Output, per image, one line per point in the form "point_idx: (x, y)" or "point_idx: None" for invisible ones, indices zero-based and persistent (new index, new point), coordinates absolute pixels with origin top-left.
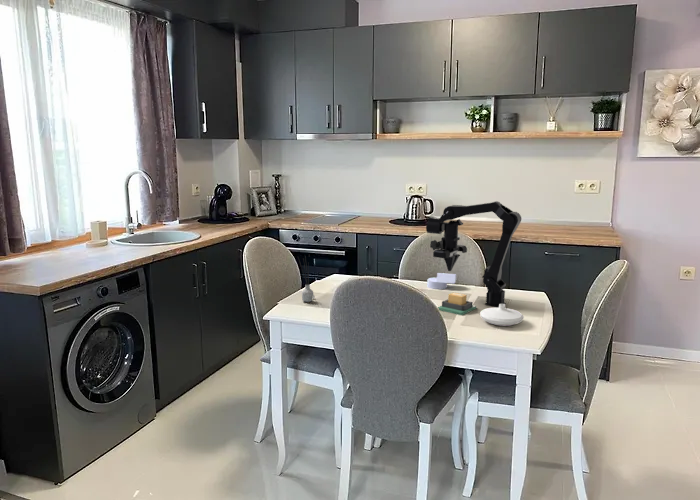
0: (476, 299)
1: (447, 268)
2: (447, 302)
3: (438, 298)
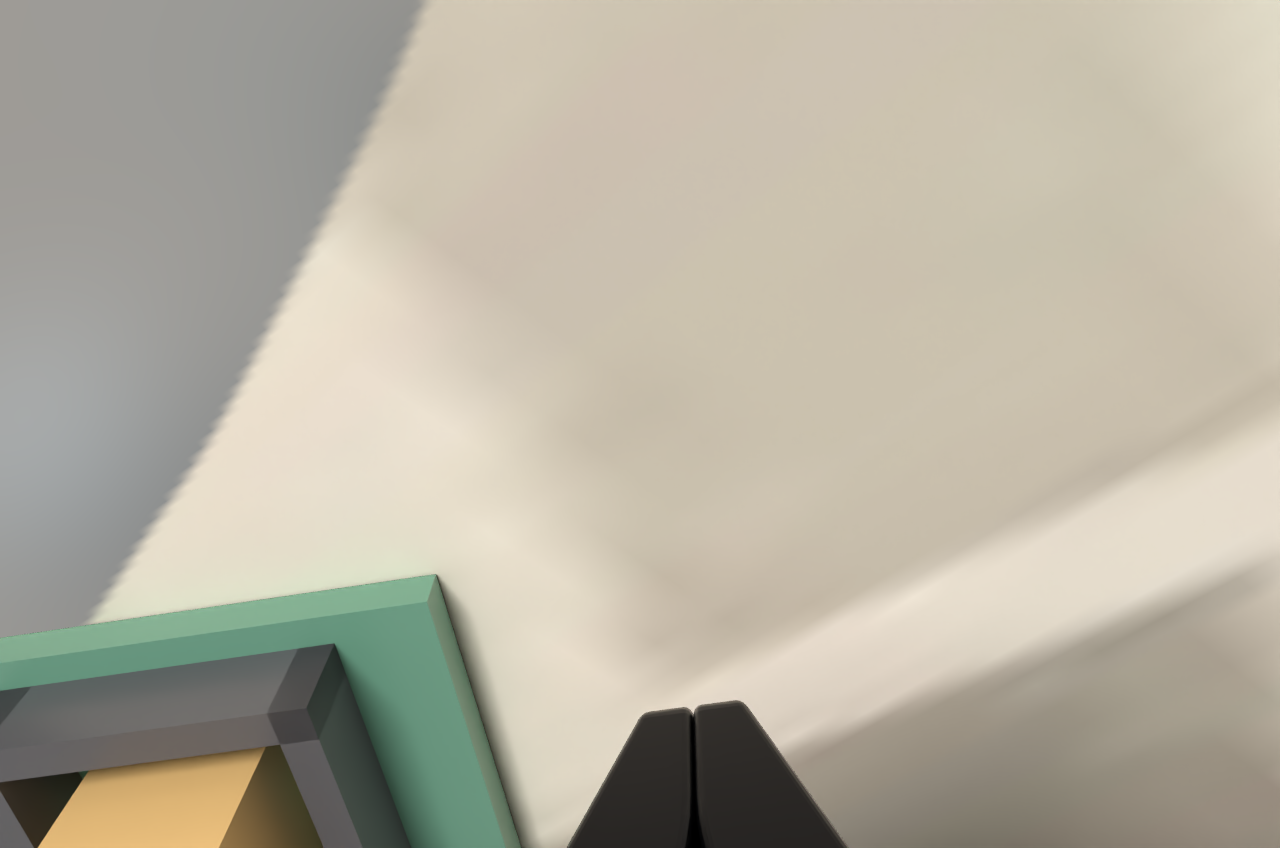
0: (1005, 671)
1: (599, 800)
2: (10, 836)
3: (454, 164)
